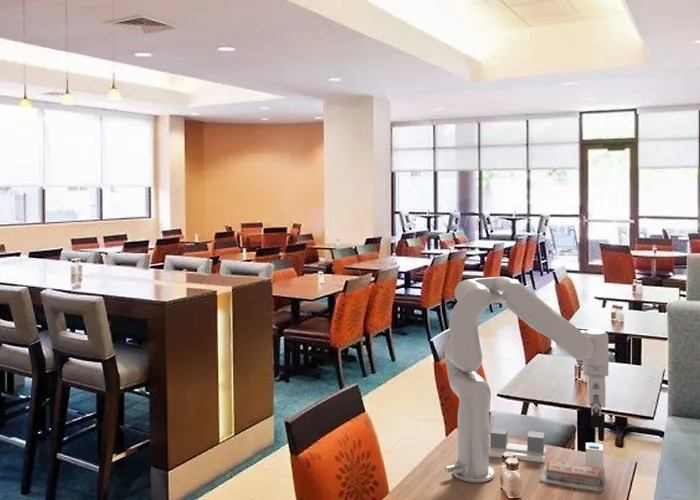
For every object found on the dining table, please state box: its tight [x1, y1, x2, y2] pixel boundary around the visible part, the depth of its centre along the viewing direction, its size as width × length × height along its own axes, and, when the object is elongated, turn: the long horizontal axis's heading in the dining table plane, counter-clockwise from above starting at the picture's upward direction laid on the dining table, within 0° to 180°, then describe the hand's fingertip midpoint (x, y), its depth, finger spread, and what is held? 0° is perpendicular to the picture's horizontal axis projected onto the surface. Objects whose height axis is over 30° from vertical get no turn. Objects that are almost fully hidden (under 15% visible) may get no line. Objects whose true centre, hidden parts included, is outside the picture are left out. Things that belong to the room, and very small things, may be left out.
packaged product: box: [539, 459, 606, 493], centre depth 201 cm, size 18×5×10 cm
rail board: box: [489, 426, 547, 463], centre depth 221 cm, size 18×9×7 cm, turn 70°
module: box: [585, 442, 604, 470], centre depth 211 cm, size 5×5×7 cm
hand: (596, 421), depth 210 cm, fingers open, 9 cm apart
